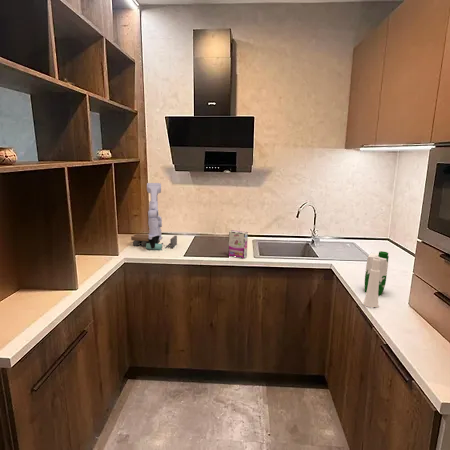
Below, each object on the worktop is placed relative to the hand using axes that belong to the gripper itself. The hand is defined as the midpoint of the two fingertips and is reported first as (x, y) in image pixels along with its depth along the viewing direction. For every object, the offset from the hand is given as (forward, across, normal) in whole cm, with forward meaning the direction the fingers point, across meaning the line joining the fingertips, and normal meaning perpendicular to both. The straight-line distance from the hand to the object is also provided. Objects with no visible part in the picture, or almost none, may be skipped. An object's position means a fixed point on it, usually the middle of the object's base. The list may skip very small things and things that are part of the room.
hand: (154, 247), depth 222 cm
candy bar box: (+2, +5, +57) cm, 57 cm away
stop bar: (+1, -10, +11) cm, 15 cm away
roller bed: (+1, -10, -5) cm, 11 cm away
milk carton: (+2, +49, +127) cm, 136 cm away
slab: (-3, -10, -11) cm, 15 cm away
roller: (+1, +1, 0) cm, 1 cm away
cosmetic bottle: (+2, +65, +121) cm, 137 cm away
